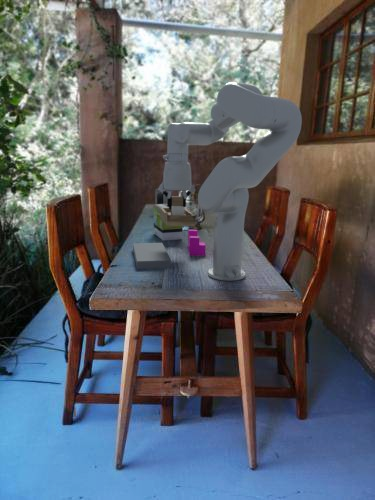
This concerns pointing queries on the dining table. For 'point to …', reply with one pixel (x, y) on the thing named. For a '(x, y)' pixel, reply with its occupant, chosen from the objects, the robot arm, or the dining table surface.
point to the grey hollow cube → (160, 197)
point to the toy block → (195, 244)
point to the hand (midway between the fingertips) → (176, 208)
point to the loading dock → (151, 256)
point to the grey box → (178, 210)
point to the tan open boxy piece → (177, 220)
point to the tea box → (165, 226)
